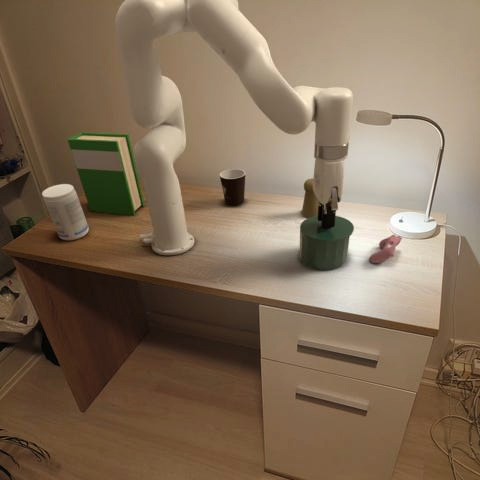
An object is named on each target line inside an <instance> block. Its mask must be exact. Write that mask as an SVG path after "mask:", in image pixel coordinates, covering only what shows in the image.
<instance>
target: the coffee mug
mask: <svg viewBox="0 0 480 480" xmlns="http://www.w3.org/2000/svg"><path fill="white" fill-rule="evenodd" d="M219 179H220V184H221V188H222V193H223V197H224V202H225V205H226V206H227V207H240V206H242V205H243V204H244V203H245V191H246V190H245V189H246V171H245V170H243V169H240V168H230V169H225V170H223V171H220V173H219Z"/></svg>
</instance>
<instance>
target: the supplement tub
mask: <svg viewBox="0 0 480 480" xmlns="http://www.w3.org/2000/svg"><path fill="white" fill-rule="evenodd" d="M41 196H42V199H43V202H44V205H45V207H46V209H47V212H48V215H49V217H50V220H51V221H52V223H53V226H54V229H55V231H56V233H57V235H58V237H59V239H61V240H63V241H76V240H78V239H81V238H83V237H85V236H86V235H87V234H88V233H89V231H90V227H89V224H88V221H87V219H86V216H85V213H84V210H83V208H82V205H81V202H80V198H79V196H78V193H77V191H76V190H75V187H74V186H73V184H70V183H69V184H68V183H61V184H55V185H52V186H50V187H47V188H46V189H44V190H43V191H42V193H41Z"/></svg>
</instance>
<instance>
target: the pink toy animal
mask: <svg viewBox="0 0 480 480" xmlns="http://www.w3.org/2000/svg"><path fill="white" fill-rule="evenodd" d="M402 240H403V237H402V236H400V235H399V234H396V233H394V234H392V235H390V236H388V237H386V238H384V239H382V240H380V241H379V242H378V246H379V247H380V248H381V250H378V251H377V252H375V253H372V254H370V256H369V258H368V259H369V260H368V261H369V262H370V263H373V264H377V263H381V262H384V261H387V260H388V259H389V258H393V257H395V254H396V253H395V251H396V247H398V246H399V244H400V243H401V241H402Z"/></svg>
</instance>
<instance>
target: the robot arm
mask: <svg viewBox="0 0 480 480" xmlns="http://www.w3.org/2000/svg"><path fill="white" fill-rule="evenodd" d="M239 8H240V7H239V1H238V0H123V2H122V3H121V5H120V6H119V8H118V10H117V12H116V15H115V20H114V31H115V40H116V44H117V48H118V52H119V57H120V60H121V66H122V74H123V79H124V84H125V88H126V89H125V90H126V94H127V95H126V96H127V101H128V106H129V112H130V114H131V117H132V119H133V121H134V122H135V124H137V125H138V126H139V127H141V128H144V129H149V130H148V131H147V132H146V133H144V134H143V135H142V136H141V137H139V139H138V140H137V141H136V143H135V145H134V149H133V156H134V161H135V165H136V169H137V172H138V173H139V174H138V175H139V176H140V179H141V182H142V186H143V190H144V194H145V198H146V203H147V207H148V211H149V216H150V221H151V225H152V228H153V231H150V232H149V233H140V234H139V241H140V242H143V244H151V249H152V251H153V252H154V253H156V254H158V255H160V256H161V255H162V256H175V255H180V254H183V253H185V252H187V251H189V250H190V249H192V248H193V247H194V245H195V237H194V236H193V235H192V234H191V233H190V232H188V225H187V221H186V214H185V208H184V202H183V196H182V191H181V185H180V181H179V178H178V176H177V174H176V171H175V168H174V163H175V162H176V161H177V160H179V158H180V157H181V156H182V155H183V153H184V152H185V149H186V146H187V133H186V125H185V115H184V106H183V99H182V95H181V93H180V90H179V88H178V86H177V85H176V83H175V82H174V81H173V80H172V79H170V78H169V77H167V76H165V75H163V74H162V68H161V61H160V57H159V54H158V50H157V48H156V46H155V43H156V41H158V40H161V39H162V38H163V39H164V38H165V37H170V36H172V35H175V34H180V33H197V35H199V36H200V38H201V39H202V40H203V41H204V42H206V44H207V45H208V46H209V47H210V48H211V49H212V50H213V51H214V52H215V53H216V54H217V55H218V56H219V57H220V58H221V59H222V60H223V61H224V62H225V63H226V64H227V65H228V66H229V67H230V68H231V70H233V72H234V73H235V74H236V75H237V76H238V78H239V80H240V82H241V84H242V86H243V88H244V89H245V90H246V92H247V94H248V95H249V96H250V98H251V100H252V101H253V102H254V104H255V105H256V107H257V108H258V109H259V110H260V111H261V112H262V113H263V114H264V115H265V116H266V117H267V119H269V121H270V122H272V124H274V126H276V127H277V128H278V129H279V130H281V131H282V132H283V133H285V134H288V135H299V134H302V133H303V132H305V131H306V130H307V129H308V128H309V127H310V125H311V123H312V122H313V123H315V131H314V151H313V158H314V159H315V160H314V168H313V177H312V179H313V191H314V193H315V195H316V197H317V198H318V200H319V201H318V204H319V205H320V206H318V221H322V228H330V227H334V226H335V216H337V215H336V214H337V211H338V210H339V203H341V202H342V200H343V192H344V180H345V179H344V177H345V160H346V159H347V158H348V157H349V156H348V155H349V145H350V135H351V133H350V132H351V125H352V116H353V115H352V113H353V105H354V104H353V103H354V94H353V91H352V90H351V89H350V88H347V87H342V86H333V87H332V86H331V87H327V88H322V87H315V86H310V85H297V86H295V87H292V86H291V85H290V84H289V82H288V81H286V79H285V78H284V76H282V74H281V73H280V71H279V70H278V68H277V67H276V65H275V63H274V61H273V59H272V56H271V50H270V47H269V45H268V42H267V40H266V38H265V37H264V36H263V35H262V34H261V32H259V30H258V29H257V28H256V27H255V26H254V25H253V24H252V23H251V22H250V21H249V20H248V19H247V17H246V16H245V15H244V14H243V13H242V12H241V11H240V9H239ZM323 204H324V213H322V207H323ZM328 204H331V206H328ZM327 206H328V208H327Z"/></svg>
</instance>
